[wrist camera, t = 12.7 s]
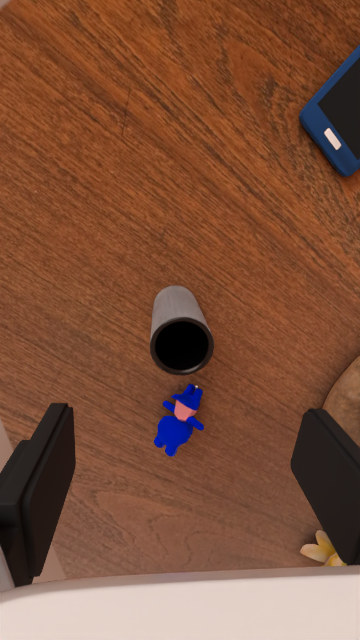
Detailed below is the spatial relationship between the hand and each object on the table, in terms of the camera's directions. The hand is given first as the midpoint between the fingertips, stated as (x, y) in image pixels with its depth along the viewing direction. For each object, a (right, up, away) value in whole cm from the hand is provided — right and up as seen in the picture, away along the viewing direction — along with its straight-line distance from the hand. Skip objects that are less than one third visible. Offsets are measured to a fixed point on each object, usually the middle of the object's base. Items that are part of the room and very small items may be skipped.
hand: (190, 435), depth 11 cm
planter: (-1, +6, +18) cm, 19 cm away
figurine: (-1, -5, +22) cm, 23 cm away
